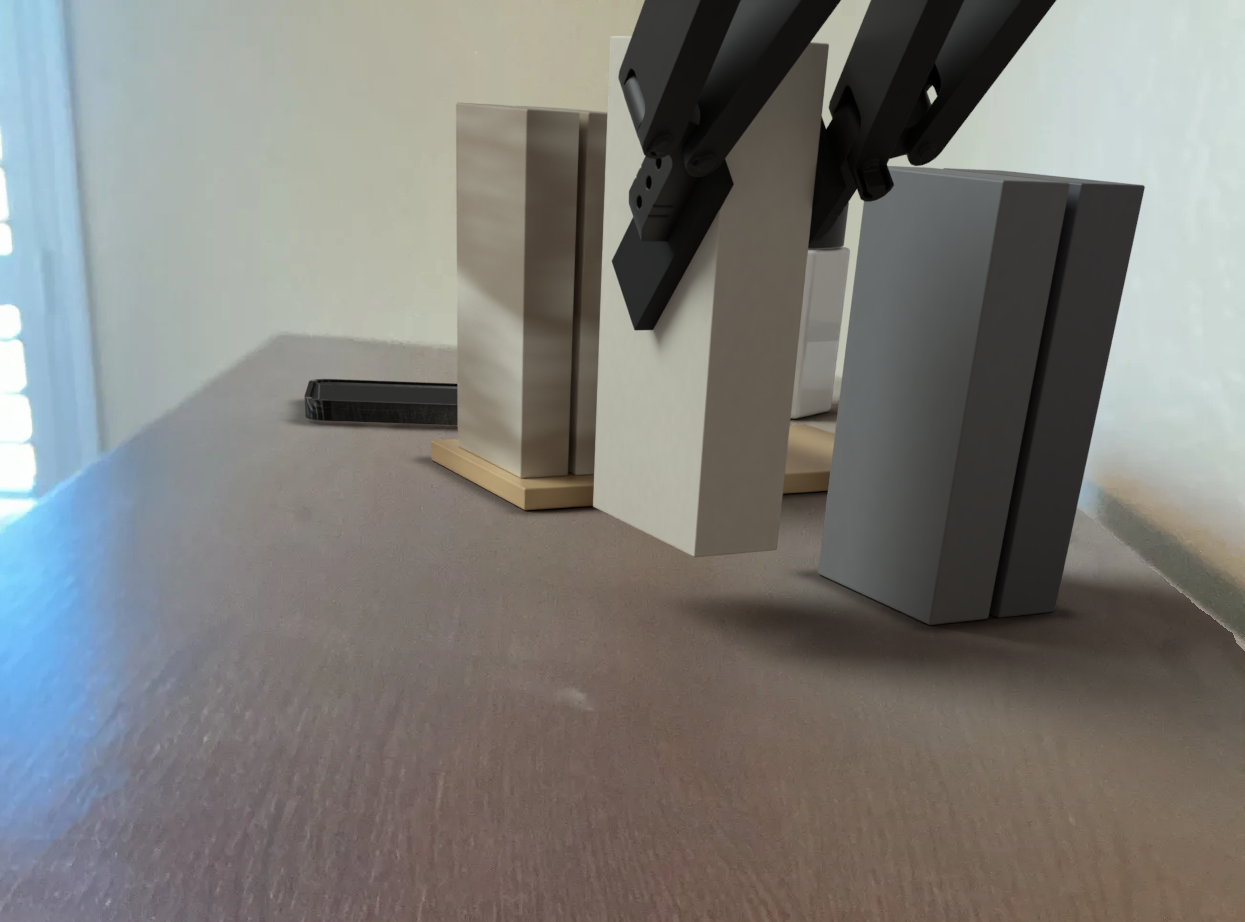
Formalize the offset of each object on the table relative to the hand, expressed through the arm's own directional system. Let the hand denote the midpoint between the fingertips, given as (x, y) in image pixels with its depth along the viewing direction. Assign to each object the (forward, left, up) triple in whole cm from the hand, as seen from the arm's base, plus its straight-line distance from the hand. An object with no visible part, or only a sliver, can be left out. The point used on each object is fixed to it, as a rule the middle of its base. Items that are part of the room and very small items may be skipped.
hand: (685, 294), depth 54 cm
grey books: (-13, +1, -11) cm, 17 cm away
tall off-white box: (0, +1, -8) cm, 8 cm away
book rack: (-14, -23, -11) cm, 29 cm away
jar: (-30, -40, -11) cm, 51 cm away
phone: (-7, -41, -11) cm, 43 cm away
